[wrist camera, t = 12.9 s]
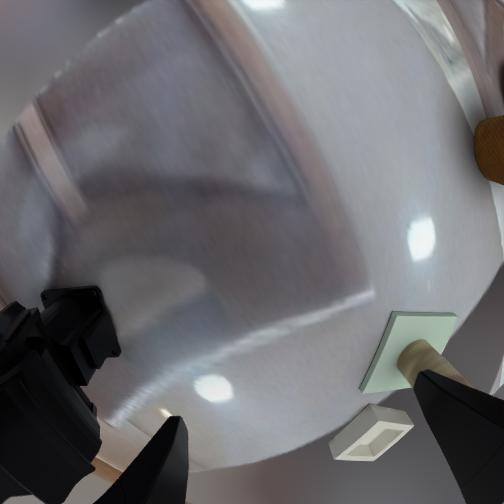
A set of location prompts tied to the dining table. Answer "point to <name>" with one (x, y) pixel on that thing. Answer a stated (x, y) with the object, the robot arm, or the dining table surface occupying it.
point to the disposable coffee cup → (490, 148)
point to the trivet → (398, 338)
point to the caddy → (370, 434)
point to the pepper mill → (425, 362)
